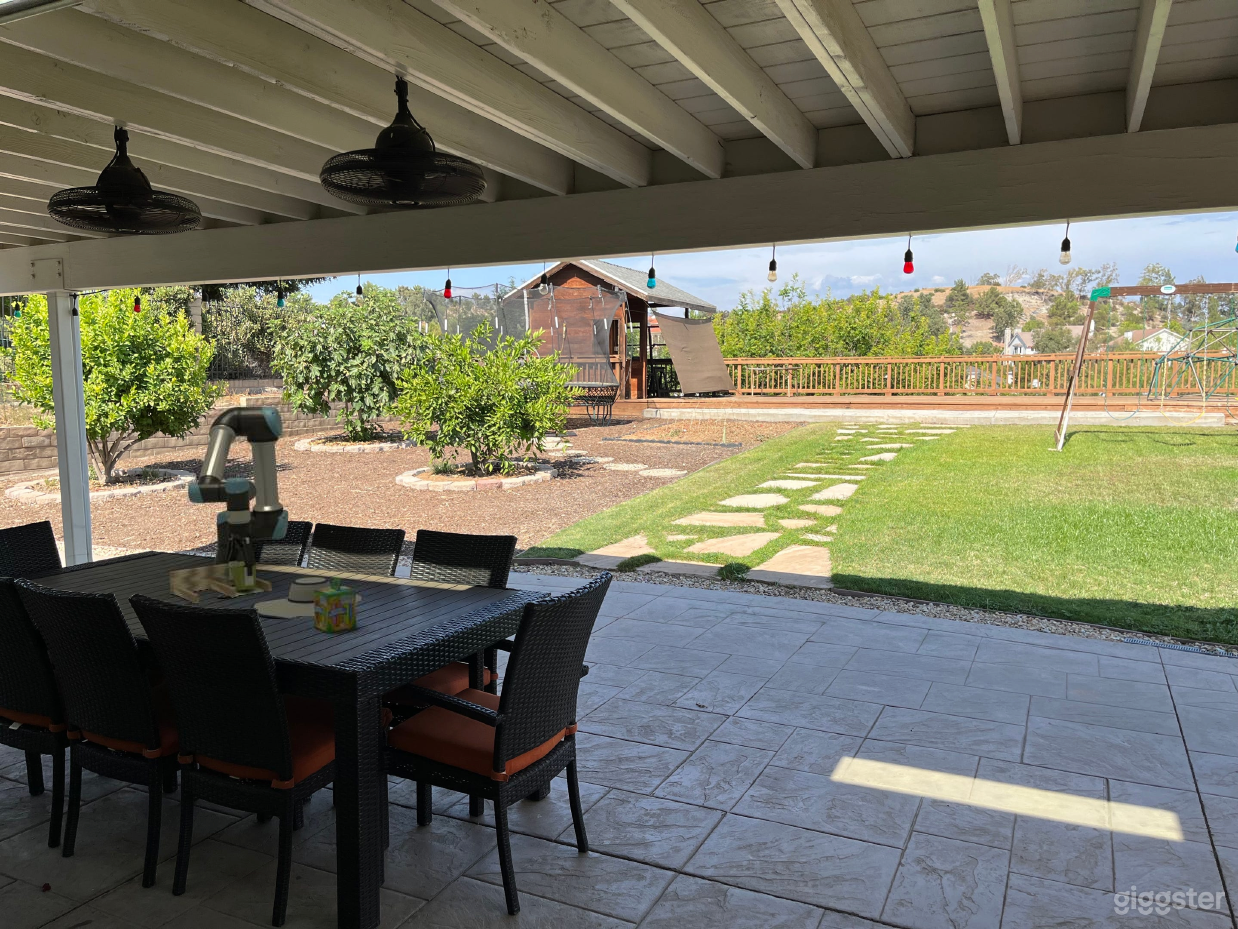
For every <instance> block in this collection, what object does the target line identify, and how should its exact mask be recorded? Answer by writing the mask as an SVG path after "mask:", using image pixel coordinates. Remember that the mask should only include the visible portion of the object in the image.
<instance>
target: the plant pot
mask: <svg viewBox="0 0 1238 929" xmlns="http://www.w3.org/2000/svg"><path fill="white" fill-rule="evenodd" d="M257 565H258V563H257V562H256V565H254V566H253V579H254V585H248V586H245V573H244V565H240V566H234V567H229V568H230V571H231V572H232V575H233V579H234V582H235V585H234V586H236V589H237V591H239V590H245V589H250V588H255V587H256V578H257V577H256V574H257V573H256V571H257V570H256V569H257Z"/></svg>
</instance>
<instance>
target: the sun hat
mask: <svg viewBox="0 0 1238 929" xmlns="http://www.w3.org/2000/svg"><path fill="white" fill-rule="evenodd" d="M331 586H332V584H331V583H330V580H329V579H327V578H326V577H318V576H317V577H315V576H313V577H302V578H301V577H300V578H298V579H295V580H293V581H292V583H291V586H290V589H289V593H288V597H285V598H286V599H284V598H280V599H275V600H273V599H272V600H267V601H266V600H265V601H259V602H256V603H253V604H251V606H250V609H251V608H256V609H258V612H259V614H260V615H259V616H260V617H267V618H275V619H282V620H290V619H289V618H292V617H296V616H314V590H315V589H321V588H328V587H331ZM360 595H361V594H358V593H356V603H357V601H361V598H362V597H361V596H362V595H361V596H360Z"/></svg>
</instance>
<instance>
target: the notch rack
mask: <svg viewBox="0 0 1238 929" xmlns="http://www.w3.org/2000/svg"><path fill="white" fill-rule="evenodd" d="M237 564H238V566H240V565H245V563H244V561H243V562H237ZM232 585H233V586H232ZM169 587H170V589H169V590H170V595H171V594H175V595H178V596H180V597H182V598H185V599H187V600H189V601H192V603H191V604H193V603H199V604H200V595H199V594H197V593H194V591H196V592H200V591H199V590H202V591H207V590H206V589H208V590H211V589H212V590H211V591H214V590H215V591H214V592H216V591H217V593H219V592H220V593H219V594H221V593H223V594H222V595H224V594H225V596H227V595H228V596H227V597H229V596H230V598H231V599H235V598H234V597H236V598H237V597H240V596H239V595H242V596H246V595H247V594H248V595H253V594H252V593H254V594H258V592H259V593H264V591H265V592H267V591H268V593H270V592H269V591H271V592H272V591H273V590H272V588H273V587H272V583H271V582H269V581H268V580H267V581H266V580H264V579H260V578H258V577H256V587H255V588H250V589H245V590H239V591H237V589H236V586H235V582H234V580H230V577H229V564H222V565H215V566H214V565H208V566H202V567H195V568H190V569H189V568H188V569H179V570H174V571H169ZM175 595H174V596H175ZM180 597H179V598H180ZM182 598H181V599H182ZM189 601H188V602H189Z"/></svg>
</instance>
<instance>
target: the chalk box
mask: <svg viewBox="0 0 1238 929" xmlns="http://www.w3.org/2000/svg"><path fill="white" fill-rule="evenodd" d="M336 582H337V585H336ZM341 584H342V578H339V577H336V576H334V577H333V579H332V581H331V587H328V588H321V589H315V590H314V619H313V620H314V624H313V625H314V628H317V629H319V630H321V631H323V632H325V633H328V634H330V633H329V632H331V633H334V632H340V631H346V630H348V629H349V630H351V629H356V628H357V606H356V594H357V591H356V589H354V588H351V587H350V586H349V587H348V586H346V585H341Z"/></svg>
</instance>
